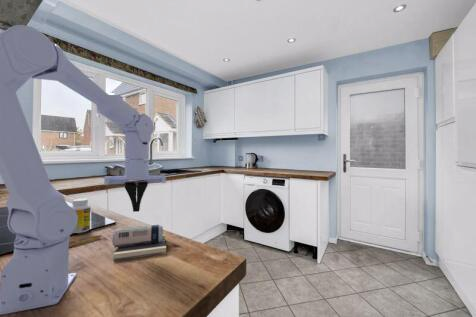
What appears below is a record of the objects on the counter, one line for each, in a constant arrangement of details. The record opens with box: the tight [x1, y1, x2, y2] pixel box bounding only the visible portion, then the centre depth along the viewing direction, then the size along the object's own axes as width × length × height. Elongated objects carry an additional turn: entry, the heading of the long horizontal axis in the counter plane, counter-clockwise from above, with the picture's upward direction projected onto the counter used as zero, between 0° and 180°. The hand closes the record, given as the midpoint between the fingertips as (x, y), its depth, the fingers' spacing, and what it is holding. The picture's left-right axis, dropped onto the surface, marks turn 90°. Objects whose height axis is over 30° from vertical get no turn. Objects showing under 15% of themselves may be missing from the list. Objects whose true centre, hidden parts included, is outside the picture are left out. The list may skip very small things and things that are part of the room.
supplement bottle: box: [70, 198, 92, 234], centre depth 69 cm, size 6×6×10 cm
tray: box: [112, 233, 167, 262], centre depth 56 cm, size 10×12×2 cm
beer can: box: [112, 224, 164, 248], centre depth 58 cm, size 5×5×12 cm
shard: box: [69, 235, 102, 248], centre depth 59 cm, size 11×8×2 cm
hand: (136, 210), depth 57 cm, fingers closed
